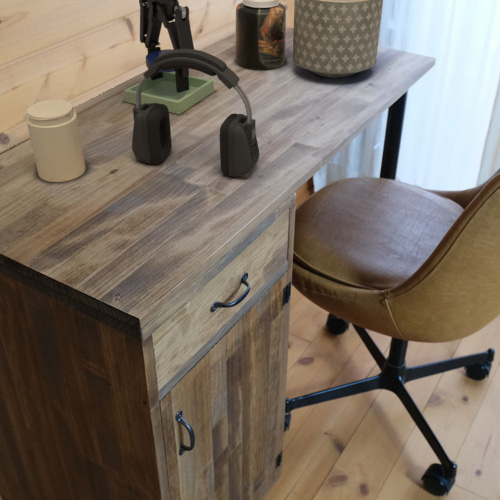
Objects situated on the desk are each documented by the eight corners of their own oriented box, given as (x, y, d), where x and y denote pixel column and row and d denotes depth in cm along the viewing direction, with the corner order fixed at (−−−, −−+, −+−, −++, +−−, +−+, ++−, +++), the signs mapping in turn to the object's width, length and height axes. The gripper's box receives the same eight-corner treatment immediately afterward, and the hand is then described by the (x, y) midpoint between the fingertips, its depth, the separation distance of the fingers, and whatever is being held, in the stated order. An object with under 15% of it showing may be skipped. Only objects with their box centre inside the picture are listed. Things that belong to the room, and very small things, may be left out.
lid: (197, 65, 133) (196, 57, 132) (162, 75, 129) (161, 66, 128) (172, 54, 139) (171, 46, 138) (138, 64, 134) (137, 55, 133)
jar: (230, 68, 152) (229, 1, 143) (242, 51, 161) (241, -12, 152) (280, 71, 149) (281, 4, 141) (288, 55, 159) (290, -9, 150)
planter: (309, 53, 160) (313, -25, 149) (384, 64, 153) (394, -17, 143) (279, 79, 146) (281, -5, 135) (360, 92, 139) (369, 5, 129)
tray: (125, 101, 136) (123, 90, 134) (162, 80, 145) (161, 69, 144) (179, 114, 130) (178, 102, 129) (214, 91, 140) (213, 80, 139)
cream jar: (28, 175, 110) (13, 112, 103) (60, 156, 116) (48, 95, 109) (64, 186, 107) (51, 122, 100) (95, 166, 113) (85, 104, 106)
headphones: (130, 163, 114) (116, 50, 102) (145, 147, 119) (134, 38, 107) (250, 182, 108) (250, 65, 96) (261, 164, 113) (262, 51, 101)
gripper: (113, -36, 128) (126, 75, 141) (177, -16, 115) (186, 104, 128) (145, -42, 132) (155, 66, 145) (210, -23, 119) (215, 94, 132)
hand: (169, 84), depth 136 cm, fingers closed on lid, 9 cm apart
